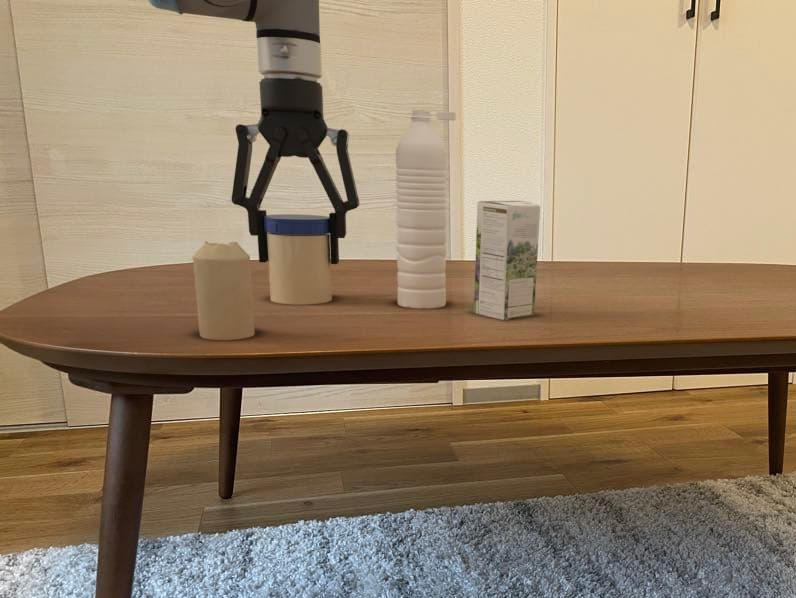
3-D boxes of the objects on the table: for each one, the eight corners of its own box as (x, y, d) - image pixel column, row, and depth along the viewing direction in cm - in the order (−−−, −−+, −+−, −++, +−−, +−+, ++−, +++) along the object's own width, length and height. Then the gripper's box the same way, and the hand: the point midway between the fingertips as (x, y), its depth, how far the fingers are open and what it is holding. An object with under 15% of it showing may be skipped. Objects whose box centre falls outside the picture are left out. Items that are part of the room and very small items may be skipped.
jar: (294, 308, 100) (290, 224, 97) (258, 299, 104) (253, 219, 101) (344, 301, 106) (341, 222, 103) (307, 293, 110) (304, 218, 107)
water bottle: (419, 311, 101) (418, 107, 94) (387, 304, 105) (384, 107, 98) (467, 305, 107) (470, 112, 100) (436, 298, 111) (436, 113, 104)
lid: (290, 235, 97) (289, 220, 96) (251, 230, 102) (250, 215, 101) (344, 233, 103) (344, 218, 103) (305, 227, 108) (304, 213, 108)
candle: (254, 330, 87) (247, 238, 84) (256, 340, 82) (249, 244, 79) (200, 331, 85) (192, 238, 82) (199, 342, 80) (190, 244, 77)
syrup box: (504, 310, 105) (507, 199, 101) (536, 317, 101) (541, 202, 97) (473, 314, 101) (475, 199, 96) (505, 322, 97) (508, 202, 93)
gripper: (192, 70, 92) (208, 263, 99) (375, 81, 95) (379, 267, 102) (209, 77, 99) (223, 256, 106) (379, 86, 102) (382, 260, 109)
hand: (299, 261), depth 104 cm, fingers closed on lid, 8 cm apart
